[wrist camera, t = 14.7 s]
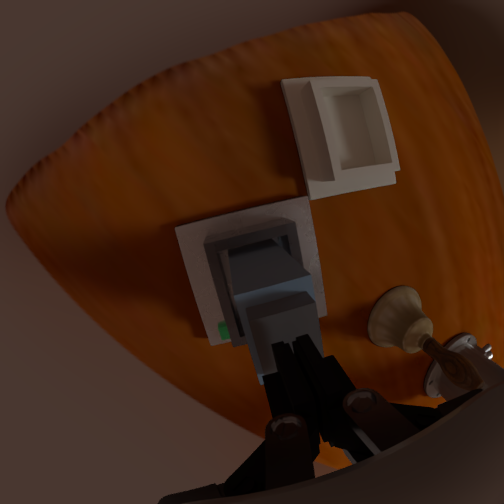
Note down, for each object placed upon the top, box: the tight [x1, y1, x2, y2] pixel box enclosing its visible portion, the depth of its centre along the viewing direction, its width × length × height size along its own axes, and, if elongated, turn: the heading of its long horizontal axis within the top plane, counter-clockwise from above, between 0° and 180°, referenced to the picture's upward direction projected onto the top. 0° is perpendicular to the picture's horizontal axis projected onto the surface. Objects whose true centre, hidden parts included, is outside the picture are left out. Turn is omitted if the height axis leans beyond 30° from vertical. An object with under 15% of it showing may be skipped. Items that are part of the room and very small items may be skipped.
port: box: [175, 196, 327, 347], centre depth 24 cm, size 12×12×5 cm
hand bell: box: [368, 286, 485, 391], centre depth 22 cm, size 8×8×16 cm
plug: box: [228, 238, 324, 385], centre depth 19 cm, size 4×6×12 cm, turn 14°
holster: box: [280, 76, 400, 200], centre depth 22 cm, size 10×12×4 cm
